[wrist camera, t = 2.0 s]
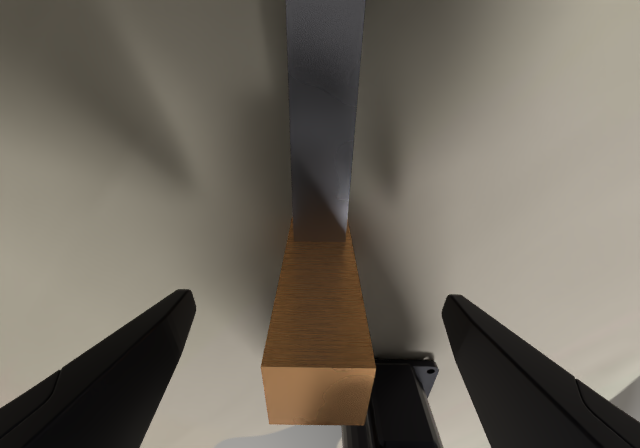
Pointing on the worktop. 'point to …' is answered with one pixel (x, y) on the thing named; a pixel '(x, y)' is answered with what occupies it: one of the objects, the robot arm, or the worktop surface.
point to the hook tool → (320, 231)
